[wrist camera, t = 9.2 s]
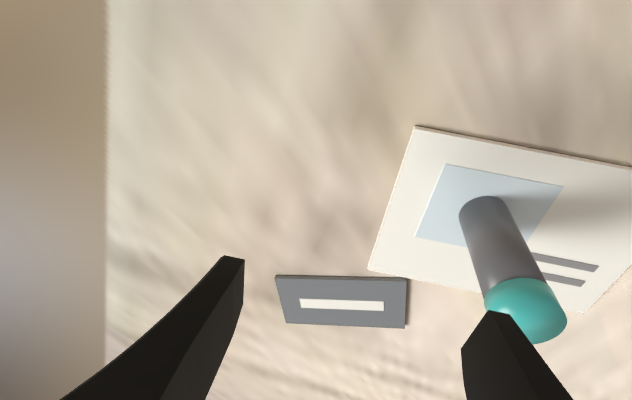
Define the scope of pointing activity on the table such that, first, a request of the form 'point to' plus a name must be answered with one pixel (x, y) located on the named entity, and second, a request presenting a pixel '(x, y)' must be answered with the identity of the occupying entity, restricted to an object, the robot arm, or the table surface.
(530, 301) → the marker
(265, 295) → the table surface
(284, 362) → the table surface
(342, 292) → the plate
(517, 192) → the paper
